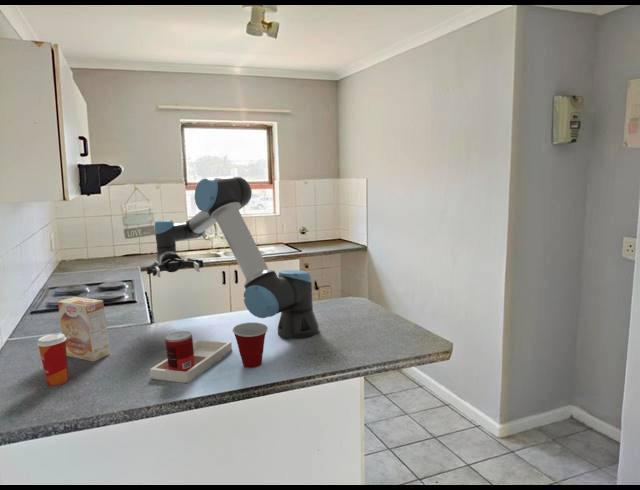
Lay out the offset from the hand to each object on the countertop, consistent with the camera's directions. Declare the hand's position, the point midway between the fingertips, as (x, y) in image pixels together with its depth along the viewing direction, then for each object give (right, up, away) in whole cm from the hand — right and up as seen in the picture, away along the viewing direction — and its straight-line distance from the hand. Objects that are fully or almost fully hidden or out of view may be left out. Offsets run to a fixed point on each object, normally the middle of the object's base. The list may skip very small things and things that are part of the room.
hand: (178, 270), depth 166 cm
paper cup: (-29, -32, -25) cm, 50 cm away
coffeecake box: (-30, -29, -5) cm, 42 cm away
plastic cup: (+29, -28, -20) cm, 46 cm away
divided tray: (+10, -29, -18) cm, 35 cm away
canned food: (+8, -29, -23) cm, 38 cm away
